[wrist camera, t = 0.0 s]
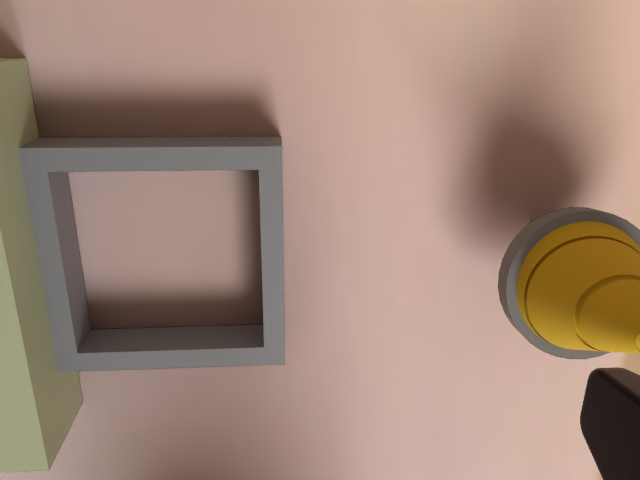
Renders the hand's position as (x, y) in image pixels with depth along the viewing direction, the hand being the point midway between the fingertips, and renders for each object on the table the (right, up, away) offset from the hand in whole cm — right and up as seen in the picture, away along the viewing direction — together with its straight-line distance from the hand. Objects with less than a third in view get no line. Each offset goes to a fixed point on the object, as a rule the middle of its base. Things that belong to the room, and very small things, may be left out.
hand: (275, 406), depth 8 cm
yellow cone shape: (+10, +1, +16) cm, 19 cm away
